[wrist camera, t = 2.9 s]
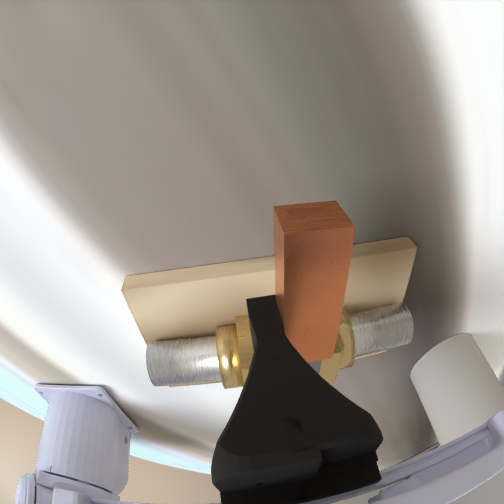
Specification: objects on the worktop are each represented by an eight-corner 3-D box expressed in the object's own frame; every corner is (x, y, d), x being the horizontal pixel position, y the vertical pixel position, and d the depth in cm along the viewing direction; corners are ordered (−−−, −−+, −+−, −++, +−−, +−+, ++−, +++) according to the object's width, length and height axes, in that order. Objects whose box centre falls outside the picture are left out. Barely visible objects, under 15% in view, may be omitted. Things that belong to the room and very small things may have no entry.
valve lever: (310, 390, 17) (318, 420, 15) (273, 397, 17) (278, 427, 15) (334, 195, 10) (358, 226, 8) (268, 200, 10) (280, 234, 8)
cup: (430, 384, 32) (466, 465, 22) (396, 377, 29) (437, 476, 19) (480, 341, 28) (527, 422, 19) (455, 326, 25) (513, 427, 15)
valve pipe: (386, 323, 22) (409, 368, 18) (164, 358, 21) (161, 412, 17) (397, 282, 19) (427, 329, 16) (146, 320, 18) (138, 378, 15)
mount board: (380, 340, 24) (385, 351, 23) (169, 374, 23) (169, 386, 22) (408, 236, 18) (417, 247, 17) (125, 276, 17) (121, 290, 16)
